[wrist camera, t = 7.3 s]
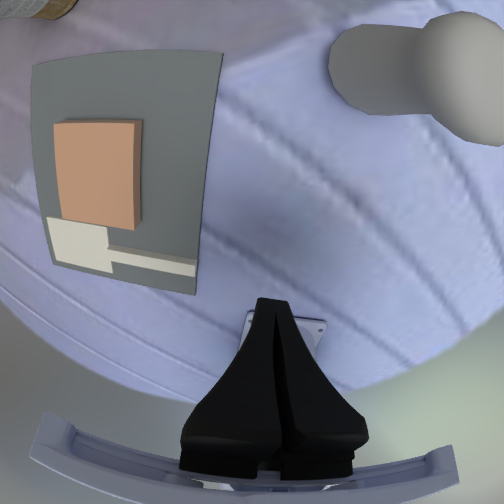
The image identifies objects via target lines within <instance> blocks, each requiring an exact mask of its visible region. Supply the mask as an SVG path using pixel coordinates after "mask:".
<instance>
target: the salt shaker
mask: <svg viewBox="0 0 504 504" xmlns="http://www.w3.org/2000/svg"><path fill="white" fill-rule="evenodd" d="M328 69H329V73H330V76H331V79H332V82H333V86H334V88H335V89H336V90H337V91H338V92H339V93H340V95H341V96H342V97H343V98H344V99H345V100H346V102H347V103H348V104H349V105H351V106H353V107H355V108H357V109H359V110H361V111H363V112H365V113H366V114H368V115H386V116H390V115H406V114H431V115H432V116H433V117H434V119H435V120H436V121H438V122H439V123H440V124H442V125H443V126H444V127H446V128H447V129H448V130H449V131H451V132H452V133H453V134H454V135H456V136H457V137H459V138H461V139H463V140H464V141H467V142H472V143H477V144H483V145H490V146H496V147H499V146H501V145H503V144H504V30H503V29H502V28H501V27H500V26H499V25H498V24H497V23H495V22H493V21H491V20H489V19H487V18H485V17H483V16H481V15H479V14H476V13H472V12H464V11H460V12H455V13H450V14H446V15H442V16H438V17H436V18H433V19H430V20H429V22H428V23H427V24H426V25H425V27H424V28H423V29H421V28H413V27H404V26H392V25H375V24H361V25H359V26H356V27H354V28H351V29H349V30H346V31H344V32H343V33H342V34H341V35H340V36H339V38H338V39H337V40H336V41H335V42H334V44H333V45H332V46H331V49H330V56H329V63H328Z"/></svg>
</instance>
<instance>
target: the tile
mask: <svg viewBox="0 0 504 504" xmlns="http://www.w3.org/2000/svg"><path fill="white" fill-rule="evenodd" d="M141 133H142V120H120V119H79V120H62V121H60V122H57V123H54V148H55V163H56V174H57V183H58V191H59V199H60V206H61V212H62V218H63V219H68V220H74V221H80V222H86V223H92V224H98V225H104V226H110V227H116V228H122V229H128V230H134V231H135V229H136V228H137V226H138V225H139V224H140V222H141V215H140V158H141Z"/></svg>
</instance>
